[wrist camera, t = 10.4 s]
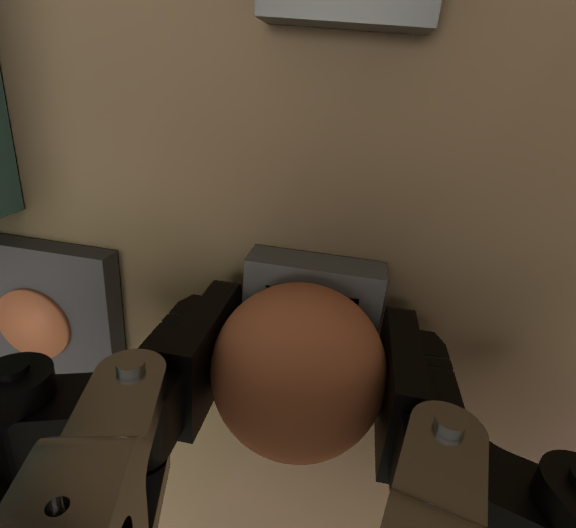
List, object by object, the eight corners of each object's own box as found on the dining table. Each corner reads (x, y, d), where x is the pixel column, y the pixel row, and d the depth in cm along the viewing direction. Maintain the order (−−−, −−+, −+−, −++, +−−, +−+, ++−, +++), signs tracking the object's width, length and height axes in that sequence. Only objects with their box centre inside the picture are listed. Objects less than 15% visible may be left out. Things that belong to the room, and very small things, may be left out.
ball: (396, 268, 11) (412, 364, 7) (371, 395, 12) (373, 527, 9) (240, 246, 11) (179, 325, 7) (236, 371, 13) (182, 486, 9)
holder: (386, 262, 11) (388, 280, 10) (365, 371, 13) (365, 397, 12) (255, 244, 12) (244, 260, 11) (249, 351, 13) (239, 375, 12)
